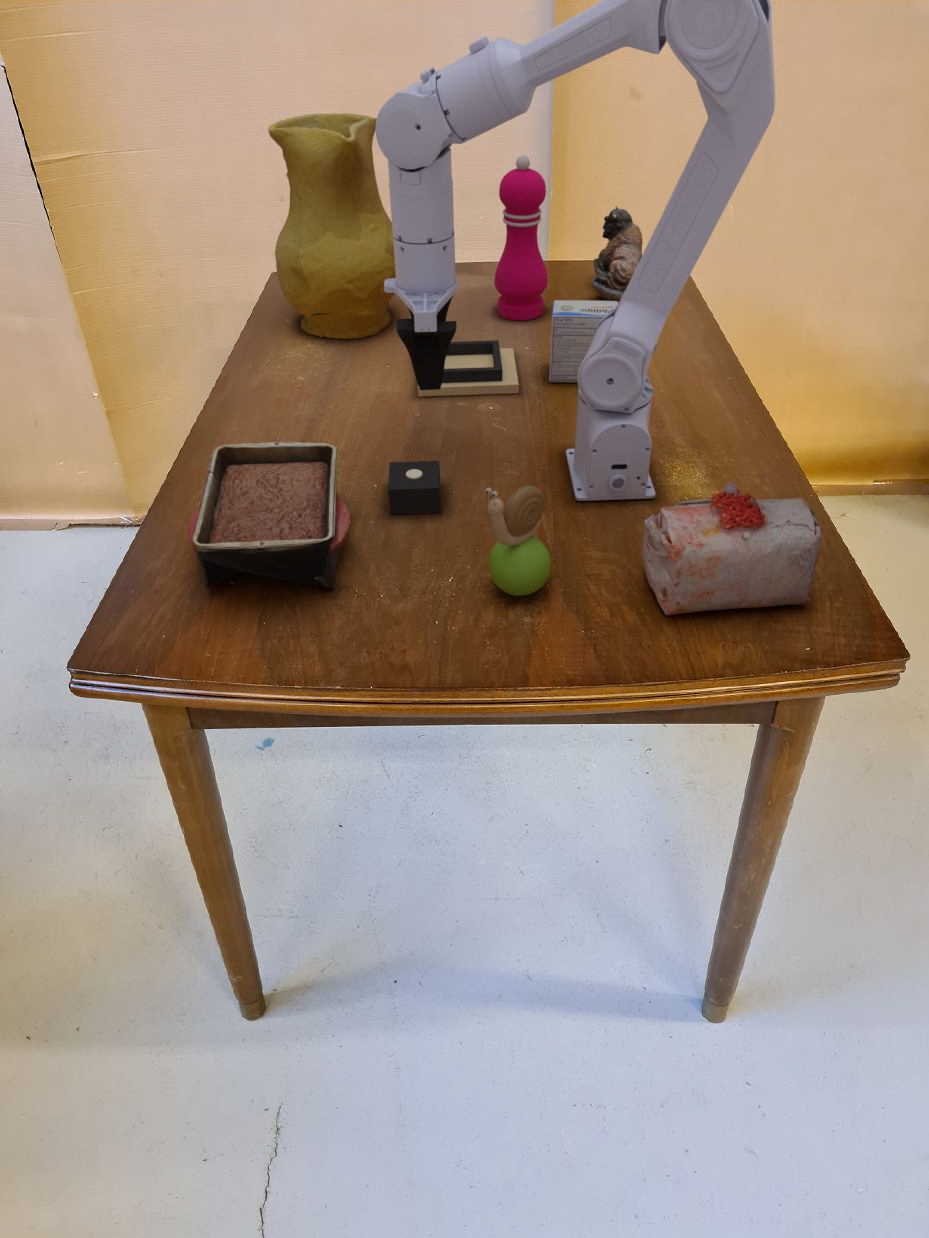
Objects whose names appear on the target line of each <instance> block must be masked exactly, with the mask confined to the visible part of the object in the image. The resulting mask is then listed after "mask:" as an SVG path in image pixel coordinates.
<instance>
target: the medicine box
mask: <svg viewBox="0 0 929 1238" xmlns="http://www.w3.org/2000/svg"><path fill="white" fill-rule="evenodd" d="M618 303H619V302H618V301H612V300H587V299H586V300H579V299H577V300H575V299H573V300H571V299H570V300H569V299H568V300H567V299H566V300H565V299H564V300H563V299H562V300H561V299H560V300H559V299H556V300H553V301H552V307H551V308H552V309H551V317H550V318H551V321H550V323H551V324H550V345H549V347H550V349H549V374H548V375H549V376H548V381H549V383H578V382H577V374H578V369H579V366H580V364H581V362H582V361H583V359H584V357H585V356H586V354H587V352H588V350H589V347H590V345H591V342H592V340H593V336H594V331H595V329H596V327H597V325H598V323H599V322H600V321H601V320H602V319H603V318H604V317H605V316H606V315H608V314H609V313H611V312H612V311H613V310H614V309H615V308H616V306H617V305H618Z"/></svg>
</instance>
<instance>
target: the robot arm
mask: <svg viewBox="0 0 929 1238" xmlns="http://www.w3.org/2000/svg"><path fill="white" fill-rule="evenodd" d="M772 23H773V21H772V3H771V0H600V1H598V2H597V3H595V4H593V5H591V6H590V7H588V8H586V9H584V10H583V11H581V12H579V13H578V14H575V15H574V16H572V17H571V18H569V19H567V20H565V21H563V22H562V23H560V24H558V25H556V26H555V27H553V28H551V29H550V30H548V31H546V32H545V33H543V34H541V35H539V36H537V37H536V38H534V39H533V40H531V41H529V42H527V43H526V44H520V43H517V42H515V41H512V40H510V39H508V38H506V37H502V36H498V37H497V38H495V39H493V40H491V41H489V38H488V36H487V35H483V36H481V37H480V38H478V39H476V40H474V41H473V42H471V43H470V44H469V45H468V49H469V52H470V53H468V54H466V55H464V56H463V57H461V58H458V59H457V60H455V61H454V62H452V63H449V64H448V65H446V66H444V67H442V68H440V69H438V70H437V71H436V69H435V67H433V66H432V67H429V68H427V69H426V70H424V71H422V72H421V73H420V74H419V78H420V81H416V82H414V83H411V84H410V85H408V86H406V87H405V88H404V89H402V90H400V91H397V92H395V93H394V94H393V96H391V97H390V98H389V99H387V101H385V102H384V104H383V105H382V106H381V108H380V110H379V112H378V114H377V117H376V118H377V120H376V130H375V138H376V141H377V145H378V147H379V149H380V151H381V152H382V154H383V156H384V157H385V158H386V159H387V169H388V181H389V182H388V190H389V200H390V201H389V203H390V214H391V215H390V216H391V222H392V231H393V245H394V258H395V272H396V278H390V279H386V280H385V282H384V291H385V292H386V293H395V294H394V295H397V297H398V298H399V299H400V300H401V301H402V302H403V303H404V304H405V306H406V307H407V309H408V311H409V314H410V317H411V318H397V319H396V325H395V327H396V329H395V330H396V333H397V336H398V337H399V339H400V340H401V342H402V343H403V345H404V347H405V349H406V351H407V353H408V356H409V358H410V361H411V365H412V369H413V372H414V376H415V380H416V383H417V387H418V386H419V389H420V390H439V389H440V388H441V385H442V380H443V374H444V366H445V359H446V354H447V351H448V347H449V345H450V343H451V342H452V341H453V339H454V337H455V335H456V332H457V327H458V326H457V320H447V316H448V312H449V308H450V305H451V302H452V301H453V300H452V299H453V298H454V296H455V294H456V293H457V292H458V290H459V280H458V277H457V275H456V245H455V244H456V242H455V241H456V239H455V238H456V237H455V215H454V214H455V213H454V212H455V211H454V181H453V171H452V170H453V169H452V166H453V165H452V149H451V147H452V145H453V144H454V145H461V144H465V143H466V142H468V141H471V140H472V139H475V138H476V137H479V136H480V135H483V134H485V133H487V132H488V131H491V130H492V129H495V128H497V127H499V126H501V125H503V124H504V123H506V122H509V121H511V120H514V119H515V118H517V117H519V116H521V115H523V114H526V113H527V112H528V111H529V109H530V107H531V105H532V102H533V97H534V95H535V92H536V89H537V88H538V87H540V86H542V85H544V84H546V83H549V82H550V81H552V80H555V79H557V78H559V77H562V76H563V75H566V74H568V73H570V72H572V71H575V70H577V69H579V68H581V67H583V66H585V65H588V64H590V63H591V62H594V61H596V60H598V59H600V58H603V57H605V56H606V55H609V54H611V53H613V52H616V51H617V50H620V49H622V48H627V47H628V48H632V49H636V50H639V51H643V52H646V53H650V54H654V55H659V54H660V53H661V51H662V50H663V49H664V47H665V45H666V44H668V46H669V48H670V50H671V52H672V53H673V54H674V55H675V57H676V58H677V60H678V61H679V62H680V63H681V64H682V66H683V67H684V68H685V69H686V71H687V72H688V73H689V74H690V75H691V76H692V78H693V79H694V80H695V81H696V83H695V84H696V86H697V90H698V92H699V95H700V98H701V100H702V103H703V106H704V109H705V112H706V115H707V120H706V121H705V124H704V126H703V128H702V130H701V132H700V133H699V136H698V138H697V140H696V142H695V144H694V146H693V148H692V151H691V153H690V155H689V157H688V159H687V161H686V163H685V165H684V166H683V167H684V168H683V169H682V172H681V174H680V176H679V178H678V180H677V182H676V184H675V186H674V188H673V190H672V192H671V195H670V197H669V198H668V201H667V203H666V204H665V206H664V209H663V212H662V213H661V216H660V218H659V219H658V222H657V223H656V226H655V228H654V230H653V232H652V233H651V236H650V238H649V241H648V242H647V245H646V247H645V249H644V251H643V252H642V257H641V259H640V261H639V263H638V265H637V267H636V270H635V272H634V274H633V276H632V278H631V280H630V282H629V284H628V286H627V288H626V290H625V291H624V293H623V295H622V297H621V299H620V301H619V302H618V305H617V306H616V308H615V309H614V310H613V311H612V312H611V313H609V314H608V315H606V316H605V317H604V318H603V319H602V320H601V321H600V322H599V323H598V325H597V327H596V329H595V331H594V336H593V340H592V342H591V345H590V347H589V350H588V352H587V354H586V356H585V357H584V359H583V361H582V362H581V364H580V366H579V369H578V374H577V382H576V383H577V386H578V391H577V404H576V405H577V406H576V420H575V421H576V422H575V435H574V436H575V437H574V448H567V449H566V450H565V457H566V461H567V466H568V471H569V475H570V479H571V484H572V489H573V494H574V499H575V500H576V501H579V502H588V501H613V500H614V501H619V500H642V499H643V500H645V499H648V500H649V499H654V498H655V497H656V490H655V487H654V484H653V482H652V478H651V476H650V473H649V471H650V463H651V457H652V450H653V449H652V448H653V443H652V438H651V434H650V430H649V427H650V426H649V425H650V419H651V409H652V401H653V395H654V387H653V385H652V384H651V380H650V379H649V376H648V372H649V370H650V366H651V363H652V360H653V356H654V355H655V353H656V351H657V346H658V340H659V338H660V335H661V334H662V331H663V328H664V326H665V324H666V322H667V320H668V317H669V316H670V314H671V312H672V310H673V308H674V306H675V304H676V302H677V300H678V299H679V297H680V295H681V294H682V293H681V292H682V291H683V289H684V287H685V285H686V283H687V282H688V280H689V278H690V276H691V274H692V272H693V270H694V268H695V266H696V264H697V263H698V260H699V259H700V256H701V255H702V253H703V251H704V249H705V247H706V245H707V243H708V241H709V240H710V238H711V236H712V234H713V232H714V230H715V228H716V226H717V225H718V222H719V221H720V219H721V217H722V215H723V213H724V211H725V210H726V208H727V205H728V204H729V202H730V201H731V198H732V196H733V194H734V192H735V190H736V189H737V186H739V183H740V181H741V179H742V177H743V176H744V173H745V172H746V169H747V167H748V166H749V163H750V162H751V161H752V158H753V157H754V154H755V153H756V150H757V149H758V147H759V145H760V143H761V141H762V139H763V137H764V136H765V133H766V132H767V130H768V128H769V126H770V124H771V122H772V119H773V115H774V112H775V106H776V85H775V84H776V83H775V65H774V64H775V63H774V62H775V61H774V47H773V27H772V25H773V24H772Z"/></svg>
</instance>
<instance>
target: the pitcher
mask: <svg viewBox="0 0 929 1238" xmlns="http://www.w3.org/2000/svg"><path fill="white" fill-rule="evenodd" d="M376 120H377V117H375V116H374V117H373V116H369V115H365V114H359V113H351V112H350V113H346V112H345V113H338V112H337V113H336V112H335V113H307V114H303V115H296V116H293V117H288V118H287V117H286V118H285V119H281V120H278V121H276V122H273V123H271V124H270V125H269V126H268V127H267V131H268V134H269V137H270V138H271V139H272V140H273V141H274V142H275V144H277V145H278V146H279V147H280V148H281V150H282V158H283V160H284V162H285V166H286V171H287V172H286V177H287V180H288V185H289V208H288V214H287V217H286V219H285V222H284V224H283V227H282V228H281V230H280V232H279V235H278V237H277V239H276V243H275V249H274V257H275V268H276V275H277V280H278V282H279V285H280V288H281V291H282V294H283V298H284V299H286V301H287V302H288V303H289V305H290V307H291V308H292V309H293V311H294V312H295V313H297V314H300V315H302V316H303V318H302V319H301V320H300V325H301V326H300V329H301V330H303V331H305V333H306V334H308V335H313V336H316V337H320V338H323V337H325V338H328V339H338V340H341V339H343V340H350V339H353V340H354V339H362V338H366V337H371V336H375V335H377V334H379V333H380V331H382V330H384V329H385V328H387V326H388V325H389V323H390V322H391V321H392V319H391V312H390V311H389V310H388V307H389V305H390V302H391V300H392V298H393V296H394V295H396V294H395V293H386V292H385V291H384V282H385V280H386V279H390V278H396V272H395V258H394V245H393V231H392V219H391V218H390V217H389V215H388V213H387V212H386V210H385V207H384V206H383V203H382V199H381V196H380V191H379V187H378V181H377V178H376V177H377V176H376V171H375V165H374V164H375V163H374V154H373V143H374V142H373V140H374V137H375V134H376Z"/></svg>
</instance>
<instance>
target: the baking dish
mask: <svg viewBox="0 0 929 1238" xmlns="http://www.w3.org/2000/svg"><path fill="white" fill-rule="evenodd" d="M338 459H339V454H338V449H337V447H336V446H335V445H332V444H330V443H328V442H327V443H325V442H315V441H311V442H310V441H309V442H308V441H285V442H284V441H283V442H282V441H272V442H271V441H267V442H266V441H265V442H256V441H255V442H247V443H244V442H243V443H234V444H233V443H231V444H224V445H219V446H216V447H215V448H213V449H212V452H211V454H210V458H209V461H208V463H209V467H208V470H207V475H206V480H205V485H204V490H203V493H202V496H201V501H200V503H199V506H198V507H197V508H196V510H195V511H194V512H193V514H192V515H191V517H190V520H189V524H188V537H189V540H190V543H191V546H192V548H193V551H194V553H195V555H196V558H197V560H198V562H199V565H200V566H201V570H202V573H203V578H204V582H205V585H204V589H207V588H210V587H212V586H213V585H215V584H218V583H220V582H221V581H224V580H227V579H229V578H231V577H233V576H235V575H237V574H239V573H247V574H253V575H256V576H263V577H266V578H272V579H277V580H282V581H287V582H292V583H298V584H301V585H302V584H303V585H309V586H314V587H318V588H319V587H320V588H326V589H332V590H335V589H336V588H335V577H336V571H337V567H338V566H337V565H338V562H339V560H340V556H341V553H342V549H343V547H344V544H345V540H346V537H347V536H348V533H349V531H350V528H351V526H352V519H351V515H350V512H349V510H348V509H349V508H347V505H346V504H345V503H344V501H343V500H342V499H341V498H340V496H339V495H338V491H337V488H338V487H337V485H338V484H337V483H338V482H337V481H338V479H337V477H338Z"/></svg>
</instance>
